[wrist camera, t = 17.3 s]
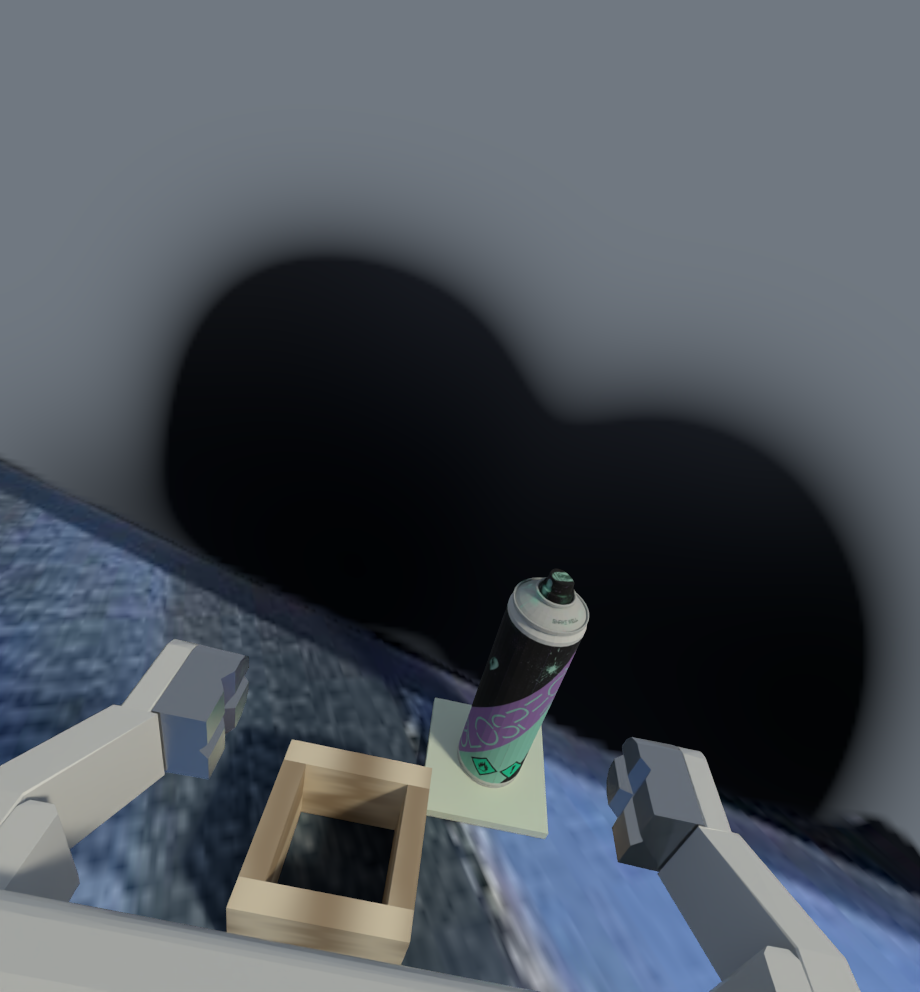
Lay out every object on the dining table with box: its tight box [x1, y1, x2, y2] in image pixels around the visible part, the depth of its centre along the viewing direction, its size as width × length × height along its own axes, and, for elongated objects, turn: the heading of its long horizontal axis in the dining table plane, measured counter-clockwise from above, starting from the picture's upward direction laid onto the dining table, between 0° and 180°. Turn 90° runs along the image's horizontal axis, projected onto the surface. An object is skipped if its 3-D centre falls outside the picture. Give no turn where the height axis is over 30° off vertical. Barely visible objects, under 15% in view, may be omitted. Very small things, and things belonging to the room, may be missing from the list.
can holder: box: [226, 739, 432, 965], centre depth 34 cm, size 10×10×6 cm
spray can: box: [457, 569, 589, 788], centre depth 40 cm, size 6×6×20 cm
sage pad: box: [425, 698, 548, 839], centre depth 45 cm, size 10×10×1 cm
